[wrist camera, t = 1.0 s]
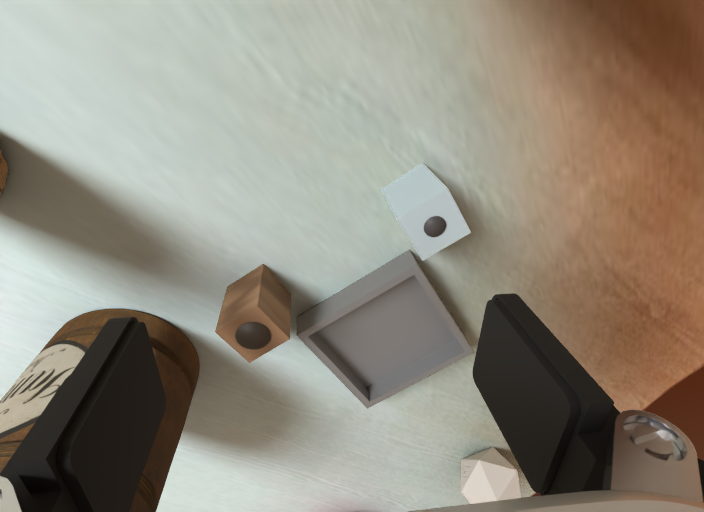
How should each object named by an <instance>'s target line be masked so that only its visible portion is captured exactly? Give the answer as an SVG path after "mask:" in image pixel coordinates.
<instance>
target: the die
mask: <svg viewBox="0 0 704 512" xmlns="http://www.w3.org/2000/svg"><path fill="white" fill-rule="evenodd" d="M461 493H462V494H463V495H464V496H465V497H466V498H467V500H468V501H469V502H470V503H471V504H475V503H483V502H491V501H499V500H508V499H516V498H521V492H520V484H519V477H518V472H517V470H516V469H515V468H514V467H513V466H512V465H511V464H510V463H509V462H508V461H507V460H506V459H505V458H504V457H503V456H502V455H501V454H500V453H499V452H498V451H497V450H496V449H495V448H494V447H491V448H489V449H486V450H484V451H481V452H479V453H476V454H473V455H471V456H468V457H466V458H463V459H461Z"/></svg>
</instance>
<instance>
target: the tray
mask: <svg viewBox="0 0 704 512" xmlns="http://www.w3.org/2000/svg"><path fill="white" fill-rule="evenodd" d="M297 336H298V337H299V338H300V339H301V340H302V341H303V342H304V343H305V345H306V346H307V347H308V348H309V349H310V350H311V351H312V352H313V353H314V354H315V355H316V356H317V357H318V358H319V359H320V360H321V361H322V362H323V363H324V364H325V365H326V366H327V367H328V368H329V369H330V370H331V371H332V372H333V373H334V374H335V376H336V377H337V378H338V379H339V380H340V381H341V382H342V383H343V384H344V385H345V386H346V387H347V388H348V389H349V390H350V391H351V392H352V393H353V394H354V395H355V396H356V397H357V398H358V399H359V400H360V401H361V402H362V403H363V404H364V405H365V407H366V408H369V407H371V406H373V405H375V404H377V403H379V402H381V401H383V400H384V399H386V398H388V397H390V396H392V395H394V394H396V393H398V392H400V391H401V390H403V389H405V388H407V387H409V386H411V385H413V384H415V383H417V382H418V381H420V380H422V379H424V378H426V377H428V376H430V375H432V374H434V373H436V372H437V371H439V370H441V369H443V368H445V367H447V366H449V365H451V364H453V363H454V362H456V361H458V360H460V359H462V358H464V357H466V356H468V355H470V354H471V353H473V350H472V348H471V346H470V345H469V343H468V341H467V339H466V337H465V336H464V334H463V332H462V331H461V329H460V328H459V326H458V325H457V323H456V321H455V320H454V318H453V317H452V315H451V314H450V312H449V311H448V309H447V307H446V306H445V304H444V303H443V301H442V300H441V298H440V297H439V295H438V293H437V292H436V290H435V289H434V287H433V286H432V284H431V283H430V281H429V279H428V278H427V276H426V275H425V273H424V272H423V270H422V269H421V267H420V265H419V264H418V262H417V261H416V259H415V258H414V256H413V255H412V253H411V251H410V250H408V251H407V252H405V253H403V254H402V255H400V256H398V257H397V258H395V259H393V260H392V261H390V262H388V263H387V264H385V265H383V266H382V267H380V268H378V269H377V270H375V271H373V272H371V273H370V274H368V275H366V276H365V277H363V278H361V279H360V280H358V281H356V282H355V283H353V284H351V285H350V286H348V287H346V288H345V289H343V290H341V291H340V292H338V293H336V294H335V295H333V296H331V297H330V298H328V299H326V300H325V301H323V302H321V303H320V304H318V305H316V306H314V307H313V308H311V309H309V310H308V311H306V312H304V313H303V314H301V315H299V316H298V317H297Z"/></svg>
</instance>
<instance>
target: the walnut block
mask: <svg viewBox="0 0 704 512" xmlns="http://www.w3.org/2000/svg"><path fill="white" fill-rule="evenodd" d="M290 311H291V294H290V293H289V291H288V290H287V289H286V288H285V287H284V286H283V285H282V284H281V283H280V282H279V280H278V279H277V278H276V277H275V276H274V275H273V274H272V273H271V272H270V271H269V269H268V268H267V267H266V266H265V265H264V264H262V265H261V266H259V267H258V268H256V269H255V270H253V271H251V272H250V273H248V274H247V275H245V276H244V277H242V278H240V279H239V280H237V281H236V282H234V283H233V284H231V285H229V286H228V287H227V290H226V294H225V298H224V301H223V305H222V309H221V312H220V316H219V320H218V323H217V327H216V331H215V332H216V333H217V334H218V335H219V336H220V337H221V338H222V339H223V340H225V341H226V342H227V343H228V344H229V345H230V346H231V347H232V348H233V349H235V350H236V351H237V352H238V353H239V354H240V355H241V356H242V357H244V358H245V359H246V360H247V361H248V362H249V363H250V362H252V361H253V360H255V359H257V358H258V357H260V356H262V355H263V354H265V353H267V352H269V351H270V350H272V349H274V348H275V347H277V346H279V345H280V344H282V343H284V342H286V341H287V340H289V339H290Z"/></svg>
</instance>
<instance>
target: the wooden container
mask: <svg viewBox="0 0 704 512" xmlns="http://www.w3.org/2000/svg"><path fill="white" fill-rule="evenodd" d="M123 317H136V318H137V320H138V322H144V323H145V325H146V328H147V331H148V335H149V338H150V342H151V345H152V349H153V352H154V356H155V360H156V363H157V367H158V370H159V374H160V377H161V381H162V384H163V388H164V391H165V395H166V408H165V412H164V415H163V417H162V420H161V423H160V426H159V429H158V431H157V434H156V437H155V440H154V443H153V446H152V448H151V451H150V454H149V457H148V460H147V462H146V465H145V468H144V471H143V474H142V476H141V479H140V482H139V485H138V488H137V491H136V493H135V496H134V499H133V502H132V505H131V507H130V510H129V512H156V509H157V506H158V503H159V500H160V497H161V494H162V491H163V488H164V485H165V482H166V478H167V475H168V472H169V469H170V466H171V463H172V460H173V457H174V454H175V451H176V448H177V446H178V443H179V440H180V437H181V434H182V430H183V427H184V424H185V420H186V417H187V413H188V410H189V407H190V403H191V400H192V396H193V393H194V390H195V387H196V383H197V379H198V375H199V359H198V355H197V353H196V350H195V348H194V347H193V345H192V344H191V342H190V341H189V340H188V338H187V337H186V336H185V335H184V334H182V333H181V332H180V331H179V330H178V329H176V328H175V327H173V326H172V325H170V324H169V323H167V322H165V321H163V320H161V319H159V318H157V317H155V316H152V315H149V314H146V313H142V312H138V311H133V310H125V309H104V310H96V311H91V312H88V313H84V314H82V315H79V316H77V317H75V318H73V319H72V320H70V321H69V322H67V323H66V324H65V325H64V326H63V327H62V328H61V329H60V330H59V331H58V332H57V333H56V334H55V335H54V336H53V338H52V339H51V340H50V341H49V342H48V344H47V345H46V346H45V347H44V348H43V350H42V351H41V352H40V353H39V355H38V356H37V357H36V358H35V359H34V360H33V361H32V362H31V364H30V365H29V366H28V367H27V368H26V370H25V371H24V372H23V373H22V374H21V376H20V377H19V378H18V379H17V381H16V382H15V383H14V384H13V386H12V387H11V388H10V389H9V391H8V392H7V393H6V395H5V396H4V397H3V398H2V400H1V401H0V473H1V471H2V470H3V469H4V467H5V466H6V464H7V463H8V461H9V460H10V458H11V457H12V456H13V454H14V453H15V451H16V450H17V448H18V447H19V445H20V444H21V442H22V441H23V440H24V438H25V437H26V435H27V434H28V432H29V431H30V429H31V428H32V427H33V425H34V424H35V422H36V421H37V419H38V418H39V416H40V415H41V413H42V412H43V411H44V409H45V408H46V406H47V405H48V403H49V402H50V400H51V399H52V397H53V396H54V395H55V393H56V392H57V390H58V389H59V387H60V386H61V384H62V383H63V382H64V380H65V379H66V378H67V377H68V376H69V375H71V373H72V372H73V371H74V369H75V368H76V366H77V365H78V363H79V362H80V360H81V359H82V357H83V356H84V354H85V353H86V351H87V350H88V349H89V347H90V346H91V344H92V343H93V341H94V340H95V338H96V337H97V335H98V334H99V332H100V331H101V329H102V328H103V327H104V325H105V324H106V322H107V321H108V320H109V319H111V318H123Z"/></svg>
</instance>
